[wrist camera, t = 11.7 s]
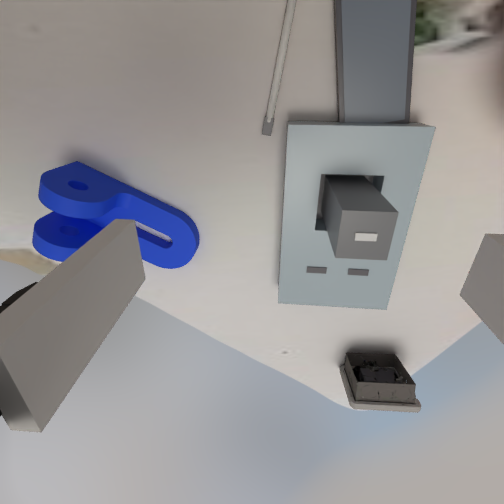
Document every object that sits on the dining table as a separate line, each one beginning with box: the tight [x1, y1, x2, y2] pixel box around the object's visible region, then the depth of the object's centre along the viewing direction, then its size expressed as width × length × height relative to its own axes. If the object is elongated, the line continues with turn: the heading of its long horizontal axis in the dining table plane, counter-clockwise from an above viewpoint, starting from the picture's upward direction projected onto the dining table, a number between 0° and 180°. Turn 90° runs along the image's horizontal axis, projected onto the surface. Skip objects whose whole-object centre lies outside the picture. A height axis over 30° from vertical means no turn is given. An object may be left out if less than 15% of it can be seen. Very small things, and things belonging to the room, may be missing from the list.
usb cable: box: [262, 0, 296, 136], centre depth 30 cm, size 15×1×1 cm, turn 170°
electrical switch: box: [340, 353, 421, 413], centre depth 45 cm, size 9×5×9 cm, turn 93°
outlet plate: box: [278, 121, 436, 310], centre depth 36 cm, size 14×22×4 cm, turn 0°
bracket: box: [32, 161, 199, 269], centre depth 37 cm, size 18×8×9 cm, turn 64°
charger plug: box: [321, 175, 399, 260], centre depth 31 cm, size 4×4×12 cm
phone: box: [334, 0, 417, 124], centre depth 30 cm, size 7×14×1 cm, turn 10°
